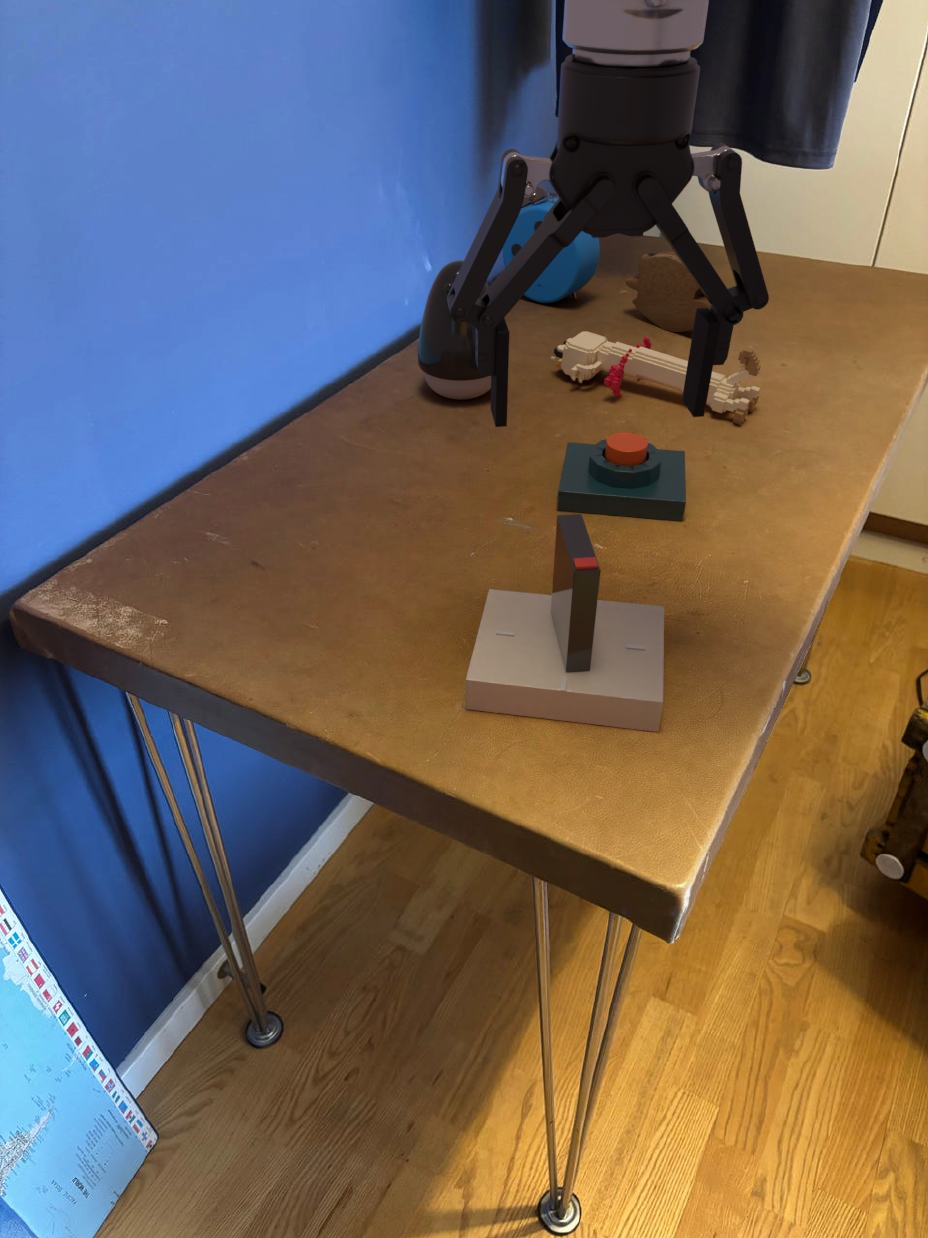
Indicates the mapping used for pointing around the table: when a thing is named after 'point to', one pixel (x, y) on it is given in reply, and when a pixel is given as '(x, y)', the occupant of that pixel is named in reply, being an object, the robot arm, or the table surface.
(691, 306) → the wooden carving
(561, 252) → the alarm clock
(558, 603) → the tap handle
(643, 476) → the button block
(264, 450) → the table surface
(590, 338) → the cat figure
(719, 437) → the table surface
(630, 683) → the plate
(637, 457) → the button
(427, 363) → the dark egg shaped device
